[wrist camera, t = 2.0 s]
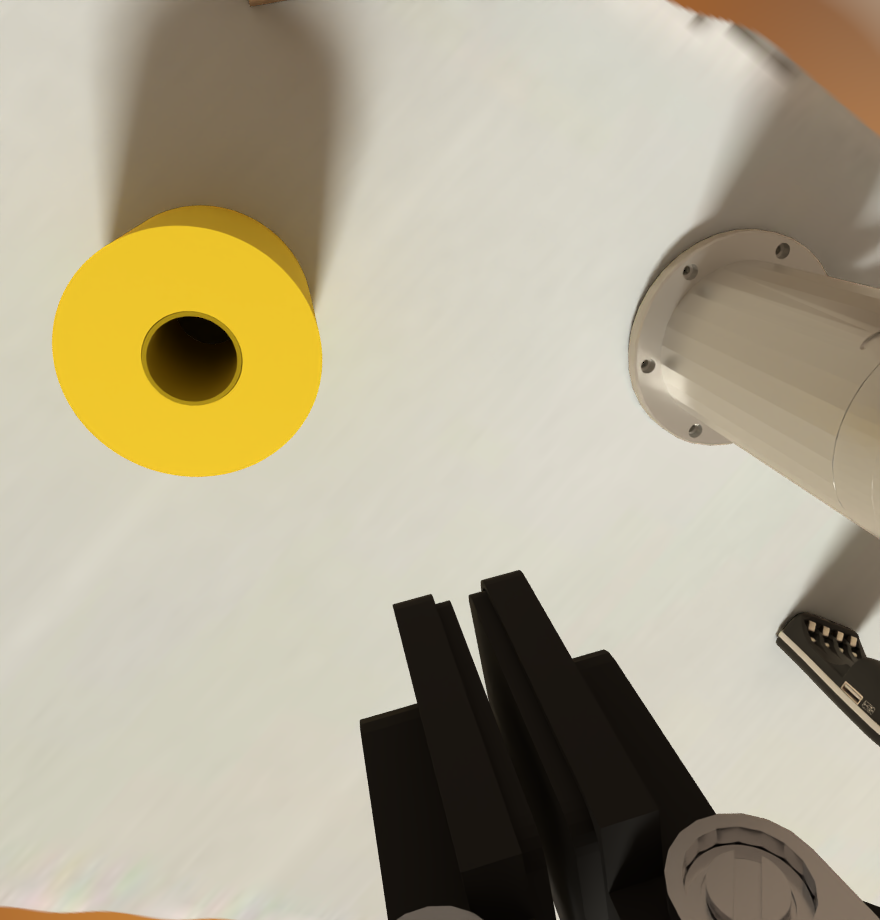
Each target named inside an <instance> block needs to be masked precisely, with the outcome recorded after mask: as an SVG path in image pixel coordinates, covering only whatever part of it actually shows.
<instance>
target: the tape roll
mask: <svg viewBox="0 0 880 920" xmlns="http://www.w3.org/2000/svg"><path fill="white" fill-rule="evenodd" d="M184 316H195V317H201V318H204V319H207V320H210V321H212V322H214V323H215V324H217V325H218V326H220V327H221V328H222V329H223V330H224V331H225V332H226V333H227V334H228V335H229V337H230V338H231V339H229V340H227V341H225V342H222V343H216V344H209V343H203V342H200V341H198V340H195V339H194V338H192V337H191V336H189V335H188V334H187V333H186V332H185V331H184V330H183V328H182V327H181V325H180V324H179V322H178V319H177V318H178V317H184ZM52 350H53V359H54V365H55V370H56V374H57V377H58V380H59V383H60V386H61V388H62V391H63V393H64V395H65V397H66V399H67V401H68V403H69V405H70V406H71V408H72V409H73V411H74V413H75V414H76V415H77V417H78V418H79V419H80V421H81V422H82V423H83V424H84V426H85V427H86V428H87V429H88V430H89V431H90V432H91V433H92V434H93V435H94V436H95V437H96V438H97V439H98V440H100V441H101V442H102V443H103V444H104V445H106V446H107V447H108V448H110V449H111V450H113V451H114V452H116V453H117V454H119V455H120V456H122V457H124V458H126V459H128V460H130V461H132V462H134V463H136V464H138V465H141V466H143V467H146V468H148V469H151V470H155V471H158V472H162V473H167V474H172V475H178V476H190V477H204V476H215V475H222V474H227V473H231V472H235V471H238V470H241V469H244V468H247V467H249V466H252V465H254V464H256V463H258V462H260V461H262V460H264V459H265V458H267V457H269V456H270V455H272V454H273V453H274V452H276V451H277V450H278V449H280V448H281V447H282V446H283V445H284V444H286V443H287V442H288V441H289V440H290V439H291V438H292V437H293V435H294V434H295V433H296V432H297V431H298V429H299V428H300V427H301V425H302V424H303V422H304V421H305V419H306V418H307V416H308V414H309V412H310V410H311V408H312V406H313V404H314V401H315V399H316V396H317V392H318V389H319V385H320V380H321V373H322V348H321V341H320V335H319V331H318V327H317V322H316V318H315V313H314V309H313V305H312V300H311V296H310V292H309V288H308V284H307V281H306V278H305V275H304V273H303V271H302V269H301V267H300V265H299V263H298V261H297V260H296V258H295V256H294V255H293V253H292V252H291V251H290V249H289V248H288V247H287V246H286V245H285V243H284V242H283V241H282V240H281V239H280V238H279V237H278V236H277V235H276V234H274V233H273V232H272V231H271V230H270V229H268V228H267V227H265V226H264V225H263V224H261V223H259V222H258V221H256V220H254V219H252V218H250V217H248V216H246V215H244V214H242V213H239V212H236V211H233V210H230V209H226V208H221V207H215V206H204V205H196V206H185V207H179V208H175V209H171V210H168V211H165V212H162V213H160V214H158V215H156V216H154V217H152V218H150V219H148V220H147V221H145V222H143V223H142V224H140V225H139V226H137V227H135V228H134V229H132V230H131V231H129V232H127V233H126V234H124V235H123V236H121V237H119V238H118V239H116V240H114V241H113V242H111V243H110V244H108V245H106V246H105V247H103V248H102V249H100V250H99V251H98V252H96V253H95V254H94V255H93V256H92V257H90V258H89V259H88V260H87V261H86V262H85V263H84V264H83V265H82V266H81V267H80V269H79V270H78V271H77V272H76V273H75V275H74V276H73V278H72V279H71V281H70V282H69V284H68V285H67V287H66V289H65V291H64V293H63V295H62V297H61V300H60V302H59V305H58V308H57V311H56V315H55V319H54V325H53V334H52Z"/></svg>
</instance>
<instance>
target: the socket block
mask: <svg viewBox="0 0 880 920" xmlns="http://www.w3.org/2000/svg"><path fill="white" fill-rule="evenodd" d="M280 1H285V0H249V4H250V7H251V6H256V5H262V4H268V3H274V2H280Z"/></svg>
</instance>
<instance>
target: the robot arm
mask: <svg viewBox="0 0 880 920" xmlns="http://www.w3.org/2000/svg"><path fill="white" fill-rule="evenodd" d="M685 267H686V271H685V272H684V273H683V270H684V268H685ZM644 360H645V362H644V364H643V365H641V364H642V363H643V361H644ZM628 362H629V373H630V378H631V383H632V387H633V390H634V392H635V394H636V396H637V399H638V401H639V403H640V405H641V406H642V408H643V409H644V410H645V411H646V413H647V414H648V415H649V417H650V418H651V419H652V420H653V421H655V422H656V423H657V424H658V425H659V426H661V427H662V428H663V429H665V430H666V431H668V432H669V433H671V434H672V435H674V436H675V437H677V438H679V439H682V440H684V441H687V442H690V443H694V444H702V445H709V446H712V445H726V444H732V443H734V444H736V445H737V446H739V447H740V448H742V449H743V450H745V451H746V452H748V453H749V454H751V455H752V456H754V457H755V458H757V459H758V460H760V461H761V462H763V463H764V464H766V465H767V466H769V467H770V468H772V469H773V470H775V471H777V472H778V473H780V474H781V475H783V476H784V477H786V478H787V479H789V480H790V481H792V482H793V483H795V484H796V485H798V486H799V487H801V488H802V489H804V490H805V491H807V492H808V493H810V494H811V495H813V496H814V497H816V498H817V499H819V500H820V501H822V502H824V503H825V504H827V505H828V506H830V507H831V508H833V509H834V510H836V511H837V512H839V513H840V514H842V515H843V516H845V517H846V518H848V519H849V520H851V521H852V522H854V523H855V524H857V525H858V526H860V527H861V528H863V529H864V530H866V531H867V532H869V533H871V534H872V535H874V536H875V537H877V538H878V539H880V288H874V287H870V286H866V285H861V284H857V283H853V282H849V281H845V280H841V279H837V278H833V277H829V276H827V274H826V272H825V270H824V268H823V267H822V265H821V263H820V261H819V260H818V259H817V258H816V257H815V256H814V255H813V254H812V253H811V251H810V250H809V249H808V248H806V247H805V246H803V245H802V244H800V243H799V242H797V241H796V240H794V239H793V238H790V237H787V236H784V235H781V234H779V233H776V232H771V231H765V230H759V229H737V230H733V231H728V232H724V233H719V234H716V235H714V236H712V237H709V238H707V239H705V240H702V241H700V242H698V243H696V244H695V245H693V246H692V247H690V248H689V249H687V250H686V251H684V252H683V253H681V254H680V255H679V256H678V257H677V258H676V259H675V260H673V261H672V262H671V263H670V264H669V265H668V266H667V267H666V268H665V269H664V270H663V271H662V272H661V274H660V275H659V276H658V278H657V279H656V280H655V282H654V283H653V284H652V286H651V287H650V288H649V290H648V292H647V294H646V295H645V297H644V299H643V301H642V303H641V305H640V307H639V309H638V312H637V314H636V317H635V320H634V323H633V326H632V329H631V335H630V342H629V348H628ZM481 591H482V592H478V593H474V594H471V595H469V603H470V608H471V613H472V618H473V623H474V628H475V634H476V639H477V644H478V649H479V654H480V659H481V664H482V669H483V674H484V679H485V684H486V689H487V694H488V698H487V696H486V693H485V690H484V688H483V685H482V683H481V680H480V677H479V675H478V672H477V670H476V667H475V664H474V662H473V659H472V656H471V654H470V651H469V649H468V646H467V643H466V641H465V638H464V636H463V633H462V630H461V628H460V625H459V622H458V620H457V617H456V615H455V612H454V609H453V607H452V604H451V602H450V600H449V601H445V602H442V603H438V604H435V602H434V599H433V596H432V594H429V595H426V596H422V597H418V598H415V599H411V600H407V601H404V602H400V603H396V604H393V609H394V613H395V617H396V620H397V624H398V628H399V632H400V636H401V640H402V644H403V648H404V652H405V656H406V660H407V664H408V668H409V672H410V676H411V680H412V684H413V688H414V692H415V696H416V700H417V704H413V705H410V706H406V707H403V708H400V709H396V710H393V711H389V712H386V713H382V714H379V715H375V716H372V717H368V718H365V719H361V720H360V730H361V738H362V745H363V752H364V759H365V765H366V772H367V779H368V786H369V793H370V800H371V807H372V813H373V820H374V827H375V834H376V841H377V848H378V855H379V861H380V868H381V875H382V882H383V889H384V896H385V902H386V909H387V916H388V920H556V915H555V909H554V905H555V907H556V910H557V913H558V915H559V918H560V920H880V907H878V906H875V905H873V904H870V903H867V902H865V901H862V900H861V899H860V898H859V897H858V896H857V895H856V894H855V893H854V892H853V891H852V890H851V889H850V887H849V886H848V885H847V884H846V883H845V882H844V881H843V880H842V879H841V878H840V877H839V876H838V875H837V874H836V873H835V872H834V871H833V870H832V869H831V868H830V867H829V866H828V864H827V863H826V862H825V861H824V860H823V859H822V858H821V857H820V856H819V855H818V854H817V853H816V852H815V851H814V850H813V849H812V848H811V847H810V846H809V845H807V844H806V843H805V842H804V841H802V840H801V839H800V838H799V837H798V836H796V835H795V834H794V833H793V832H791V831H790V830H788V829H786V828H784V827H782V826H780V825H778V824H776V823H773V822H771V821H769V820H767V819H764V818H759V817H755V816H751V815H747V814H742V813H740V814H716V813H715V812H714V810H713V809H712V807H711V806H710V804H709V803H708V801H707V800H706V798H705V796H704V795H703V793H702V792H701V790H700V789H699V787H698V786H697V784H696V783H695V781H694V780H693V778H692V777H691V775H690V774H689V772H688V771H687V769H686V767H685V766H684V764H683V763H682V761H681V760H680V758H679V757H678V755H677V754H676V752H675V751H674V749H673V748H672V746H671V745H670V743H669V742H668V740H667V739H666V737H665V735H664V734H663V732H662V731H661V729H660V728H659V726H658V725H657V723H656V722H655V720H654V719H653V717H652V716H651V714H650V713H649V711H648V710H647V708H646V707H645V705H644V703H643V702H642V700H641V699H640V697H639V696H638V694H637V693H636V691H635V690H634V688H633V687H632V685H631V684H630V682H629V681H628V679H627V678H626V676H625V674H624V673H623V671H622V670H621V668H620V667H619V665H618V664H617V662H616V661H615V659H614V658H613V657H612V656H611V654H610V653H609V652H607V651H606V650H600V651H597V652H593V653H590V654H587V655H583V656H580V657H576V658H573V659H572V658H571V656H570V654H569V652H568V651H567V649H566V647H565V646H564V644H563V642H562V640H561V639H560V637H559V635H558V633H557V632H556V630H555V628H554V626H553V625H552V623H551V621H550V619H549V618H548V616H547V614H546V612H545V611H544V609H543V607H542V606H541V604H540V602H539V600H538V599H537V597H536V595H535V593H534V592H533V590H532V588H531V586H530V585H529V583H528V581H527V579H526V578H525V576H524V574H523V573H522V572H521V571H520V570H517V571H514V572H510V573H506V574H503V575H499V576H495V577H492V578H488V579H484V580H481ZM488 699H489V701H488ZM553 902H554V904H553Z"/></svg>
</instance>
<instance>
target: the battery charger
mask: <svg viewBox="0 0 880 920" xmlns="http://www.w3.org/2000/svg"><path fill="white" fill-rule="evenodd" d="M778 636H779V637H778V638H777V640H776V643H777V645H778V646H779V647H780V648H781V649H782V650H783V651H784V652H785V653H786V654H787V655H788V656H789V657H790V658H791V659H792V660H793V661H794V662H795V663H796V664H797V665H798V666H799V667H800V668H801V669H802V670H803V671H804V672H805V673H806V674H807V675H808V676H809V677H810V678H811V679H812V680H813V682H814V683H815V684H816V685H817V686H818V687H819V688H820V689H821V690H822V691H823V692H824V693H825V694H826V695H827V696H828V697H829V698H830V699H831V700H832V701H833V702H834V703H835V704H836V705H837V706H838V707H839V708H840V709H841V710H842V711H843V712H844V713H845V714H846V715H847V716H848V717H849V718H850V719H851V720H852V721H853V722H854V723H855V724H856V725H857V726H858V727H859V728H860V729H861V730H862V731H863V732H864V733H865V734H866V735H867V736H868V737H869V738H870V739H871V740H872V741H874V742H875V743H876V744H877V745H879V746H880V661H878V660H875V659H872V658H868V657H866V655H865V652H864V650H863V647H862V645H861V642H860V640H859V636H858V634H857V633H856V632H855V631H853V630H851V629H850V628H848V627H845V626H842V625H840V624H837V623H835V622H832V621H829V620H827V619H824V618H821V617H819V616H816V615H813V614H810V613H800V614H798V615H796V616H795V617H794V618H793V619H792V620H791V621H790V622H789V623H788V624H787V625H786V627H785V628H784V630H781V631H780V633H779V634H778Z"/></svg>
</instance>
